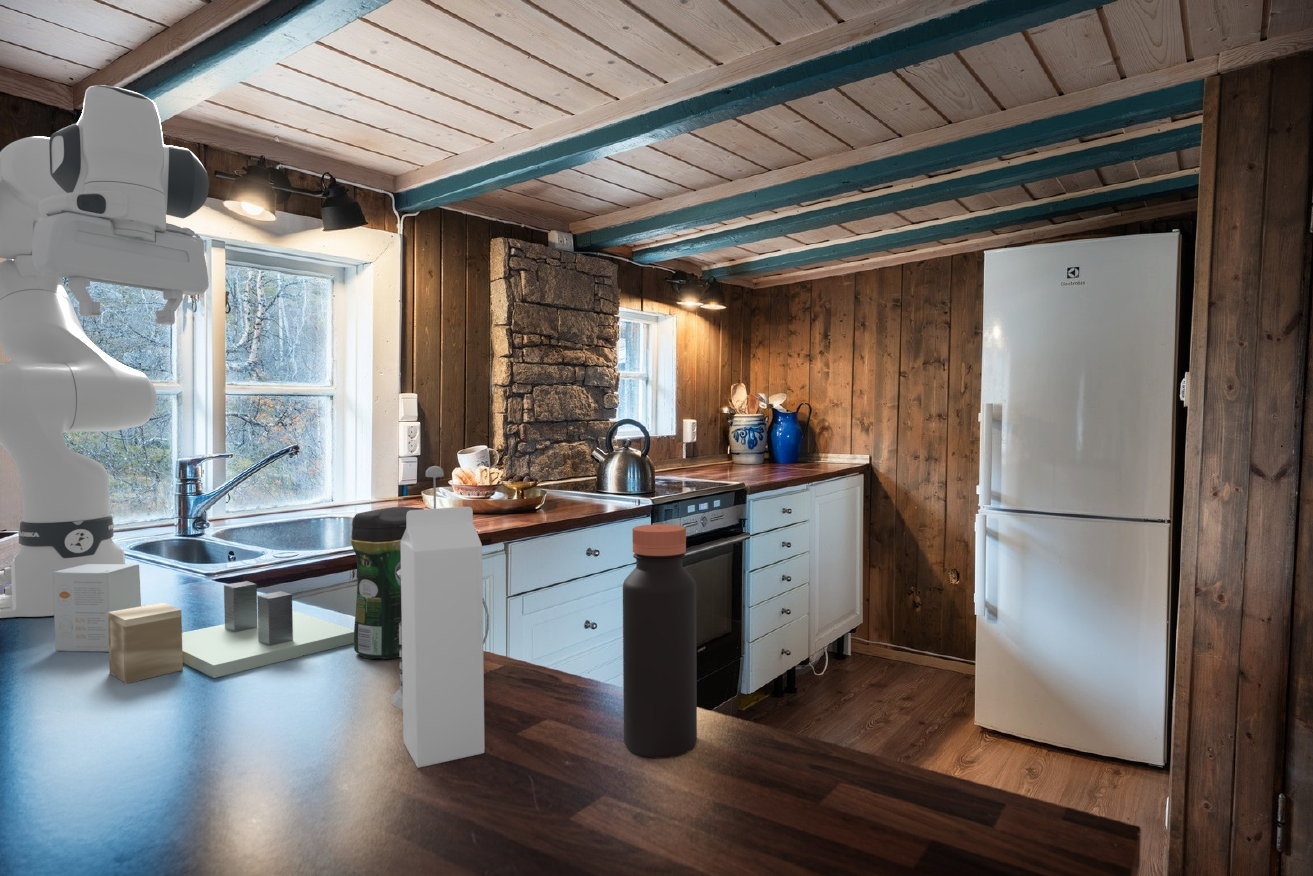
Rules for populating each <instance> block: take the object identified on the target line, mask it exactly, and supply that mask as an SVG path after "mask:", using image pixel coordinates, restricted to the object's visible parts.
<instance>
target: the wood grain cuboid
mask: <svg viewBox="0 0 1313 876" xmlns="http://www.w3.org/2000/svg"><path fill="white" fill-rule="evenodd" d="M182 615H183V614H182V609H180V608H178V607H175V606H173V605H170V604H168V603H166V602H158V603H154V604H152V603H151V604H146V605H141V606H140V607H134V608H129V609H123V610H117V611H111V612H108V630H109V652H108V655H109V656H108V658H109V659H108V662H109V663H108V665H109V667H108V668H109V674H111V675H112V676H114V677H115V678H117V679H119V680H121V681H122V682H124V683H125V684H131V683H135V682H138V681H142V680H147V679H152V678H154V677H160V676H164V675H167V674H171V673H176V672H180V671H183V669H184V666H183V664H184V663H183V657H182V633H183V629H182V628H183V626H182V625H183V624H182V623H183V622H182V621H183V620H182V619H183V617H182Z"/></svg>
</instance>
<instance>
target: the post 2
mask: <svg viewBox="0 0 1313 876" xmlns="http://www.w3.org/2000/svg"><path fill="white" fill-rule="evenodd" d="M292 610H293V594H292V593H288V592H286V591H281V590H280V591H279V590H278V591H274V592H269V593H263V594H259V595H258V594H257V617H258V642H260V643H263V644H265V645H268V646H272V645H276V644H280V643H285V642H289V641H293V616H292Z"/></svg>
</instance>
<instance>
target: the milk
mask: <svg viewBox="0 0 1313 876" xmlns="http://www.w3.org/2000/svg"><path fill="white" fill-rule="evenodd" d="M473 511H474V510H473V508H472V507H471V506H460V507H459V506H458V507H457V506H456V507H441V508H436V509H434V508H427V509H425V508H423V510H410V511H408V512H407V514H406V530H405V532H404V535H403V537H402V539H401V609H402V657H401V659H402V669H401V670H402V675H403V710H402V727H403V728H402V729H403V735H402V736H403V745H404V746H405V748H406V750H407V751H408V753H409V755H410V756H411V759H412V761H413V762H414V764H415V766H416V767H417V769H420V768H424V767H429V766H432V765H438V764H441V763H446V762H450V761H455V760H460V759H464V758H468V757H473V756H478V755H482V754H484V753H485V688H484V687H485V685H484V684H485V683H484V682H485V681H484V680H485V677H484V672H485V671H484V667H485V665H484V645H483V640H484V605H483V598H484V597H483V595H484V594H483V591H484V590H483V545H482V544H483V543H482V542H481V539H480V537H479V534H478V532H477V529H476V526H475V525H474V514H473V513H474V512H473Z"/></svg>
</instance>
